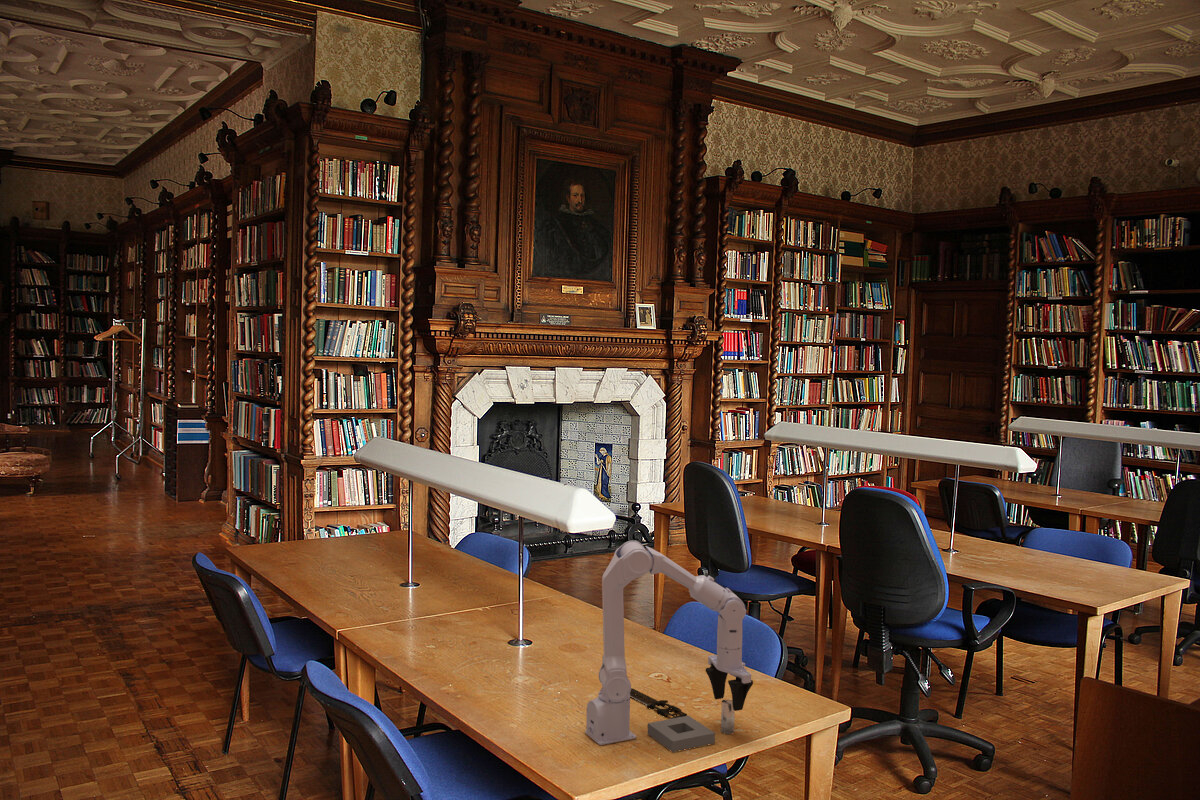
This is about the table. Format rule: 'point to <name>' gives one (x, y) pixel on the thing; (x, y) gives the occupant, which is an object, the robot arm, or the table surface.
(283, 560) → the table surface
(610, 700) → the robot arm
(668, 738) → the socket block
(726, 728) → the steel pin
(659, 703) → the knife
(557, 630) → the table surface
